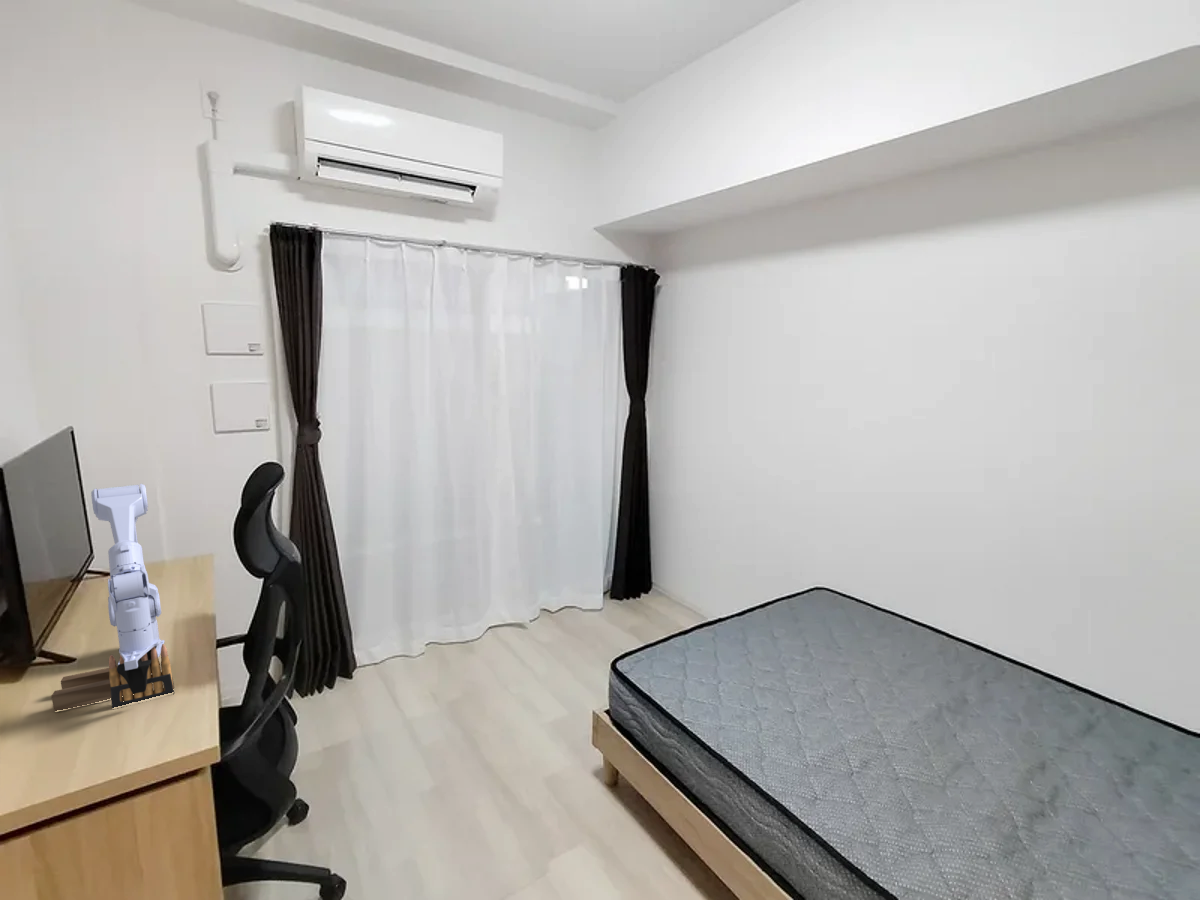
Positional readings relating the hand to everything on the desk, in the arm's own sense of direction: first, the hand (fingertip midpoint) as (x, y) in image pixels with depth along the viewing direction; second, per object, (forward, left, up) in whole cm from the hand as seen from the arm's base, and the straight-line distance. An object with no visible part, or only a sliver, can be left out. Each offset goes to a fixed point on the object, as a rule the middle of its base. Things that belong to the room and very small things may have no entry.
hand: (142, 683), depth 125 cm
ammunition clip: (0, 0, -4) cm, 4 cm away
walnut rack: (-7, -8, -4) cm, 11 cm away
